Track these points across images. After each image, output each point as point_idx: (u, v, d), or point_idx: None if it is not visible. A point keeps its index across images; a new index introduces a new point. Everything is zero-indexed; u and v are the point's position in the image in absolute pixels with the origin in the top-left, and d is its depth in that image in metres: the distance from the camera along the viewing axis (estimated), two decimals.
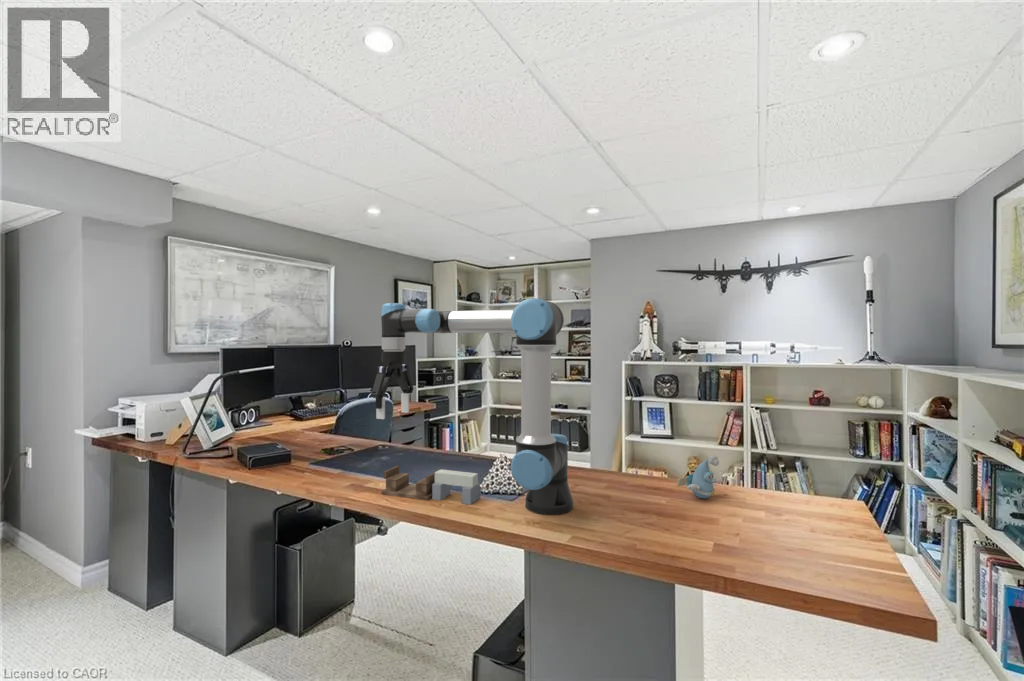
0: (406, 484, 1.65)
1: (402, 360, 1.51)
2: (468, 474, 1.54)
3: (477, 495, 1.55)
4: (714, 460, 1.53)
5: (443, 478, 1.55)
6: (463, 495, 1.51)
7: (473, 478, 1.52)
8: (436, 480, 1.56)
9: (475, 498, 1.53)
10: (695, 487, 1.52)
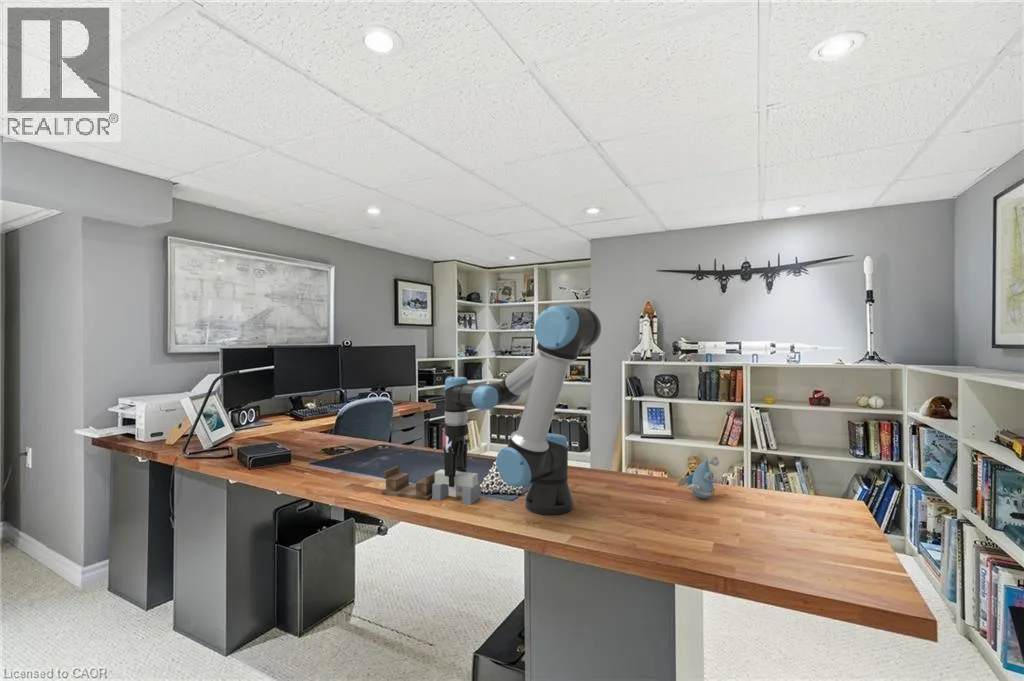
0: (406, 484, 1.65)
1: (465, 433, 1.54)
2: (468, 474, 1.54)
3: (477, 495, 1.55)
4: (714, 460, 1.53)
5: (443, 478, 1.55)
6: (463, 495, 1.51)
7: (473, 478, 1.52)
8: (436, 480, 1.56)
9: (475, 498, 1.53)
10: (695, 487, 1.52)
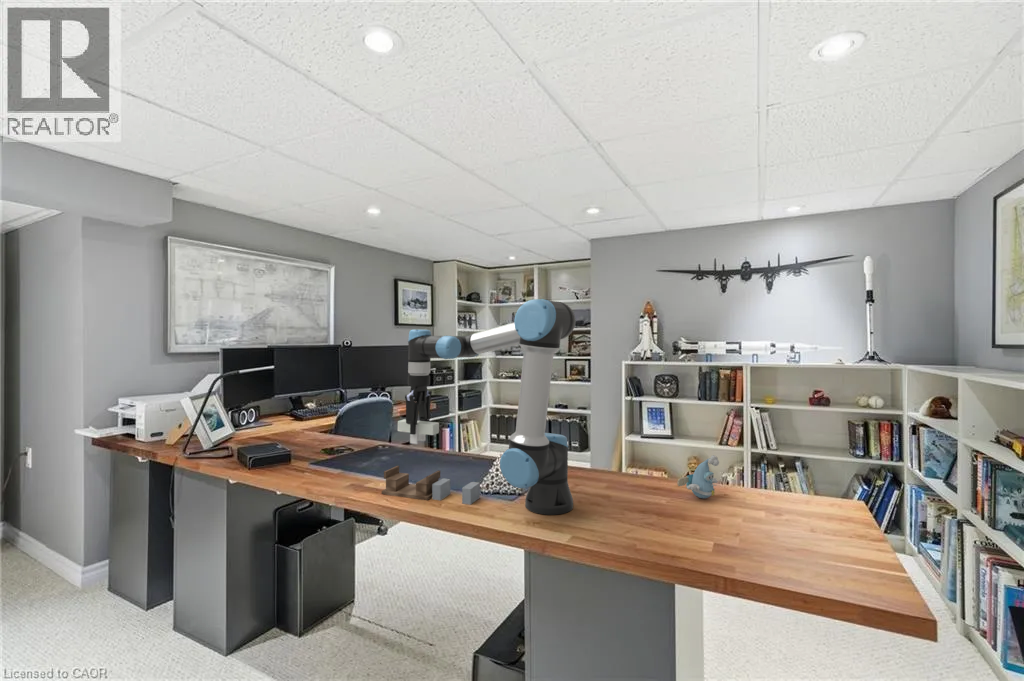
0: (406, 484, 1.65)
1: (427, 384, 1.59)
2: (430, 423, 1.59)
3: (477, 495, 1.55)
4: (714, 460, 1.53)
5: (405, 426, 1.60)
6: (463, 495, 1.51)
7: (434, 426, 1.57)
8: (399, 428, 1.61)
9: (475, 498, 1.53)
10: (695, 487, 1.52)
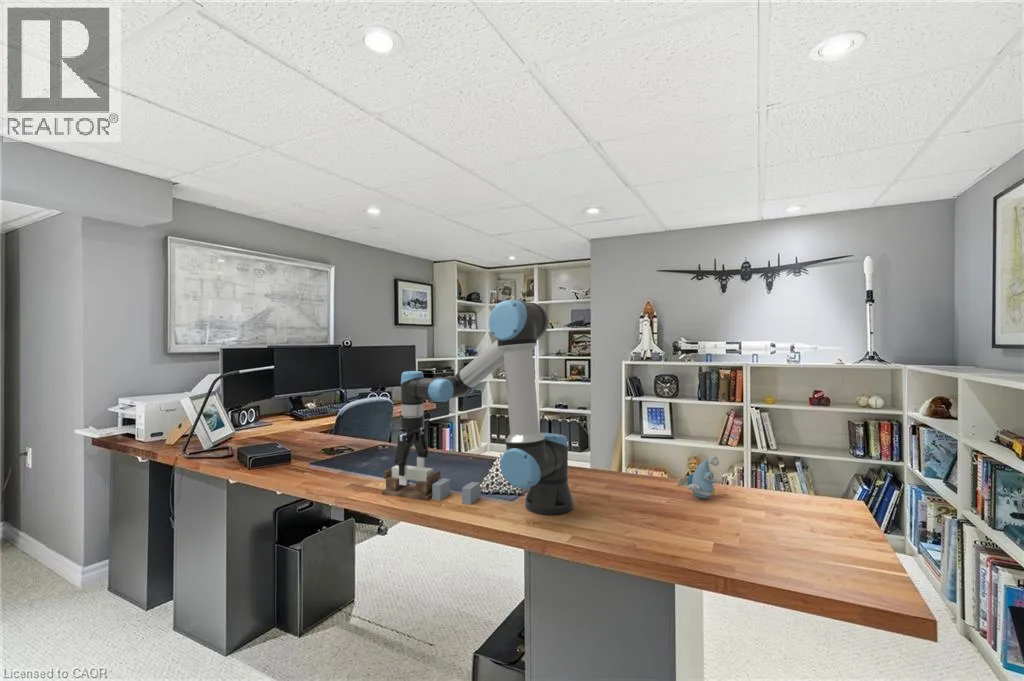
0: None
1: (421, 425, 1.60)
2: (424, 469, 1.60)
3: (477, 495, 1.55)
4: (714, 460, 1.53)
5: None
6: (463, 495, 1.51)
7: (427, 473, 1.58)
8: (393, 475, 1.62)
9: (475, 498, 1.53)
10: (695, 487, 1.52)
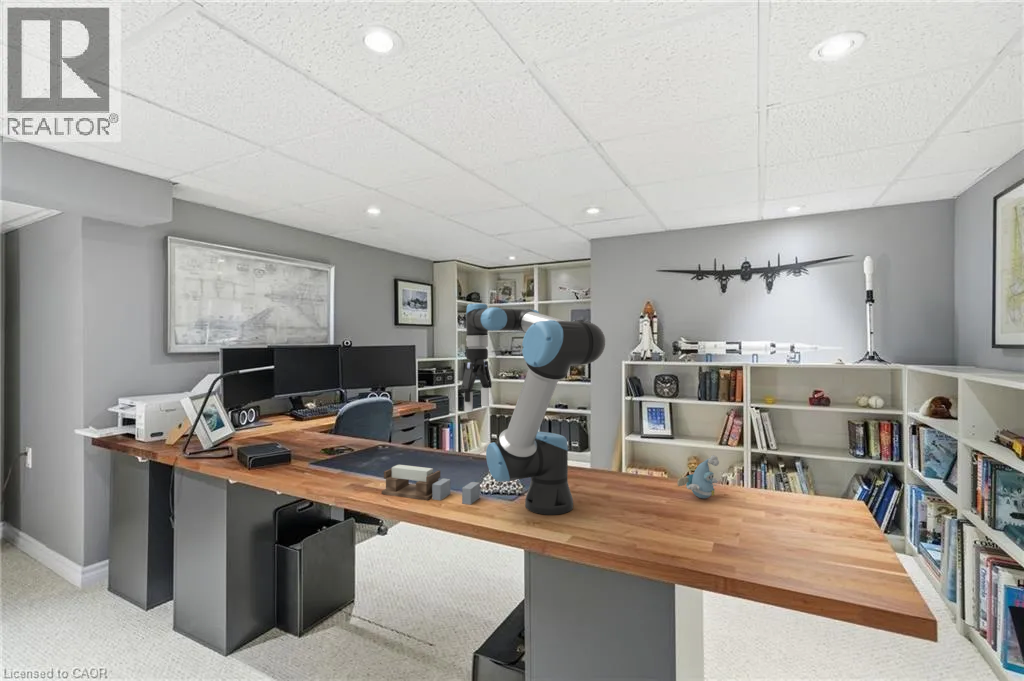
0: (406, 484, 1.65)
1: (486, 357, 1.62)
2: (424, 469, 1.60)
3: (477, 495, 1.55)
4: (714, 460, 1.53)
5: (399, 472, 1.61)
6: (463, 495, 1.51)
7: (427, 473, 1.58)
8: (393, 475, 1.62)
9: (475, 498, 1.53)
10: (695, 487, 1.52)
